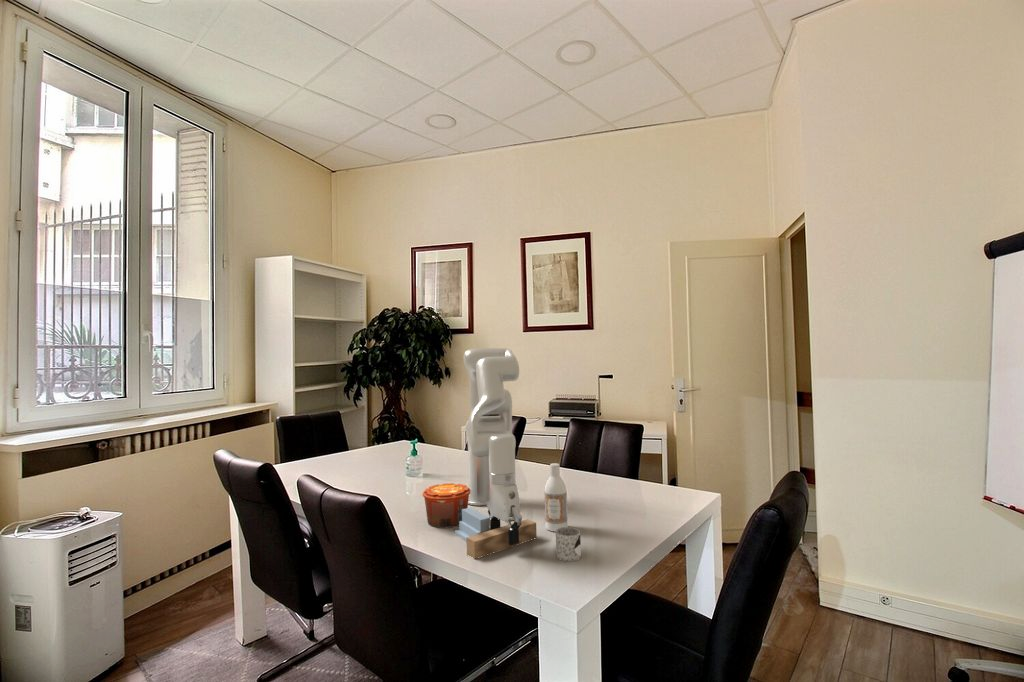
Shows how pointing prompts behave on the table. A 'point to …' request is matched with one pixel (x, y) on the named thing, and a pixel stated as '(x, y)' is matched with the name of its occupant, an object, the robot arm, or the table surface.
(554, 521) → the bath foam
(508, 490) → the robot arm
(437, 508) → the food container
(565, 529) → the mug
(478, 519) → the light blue stepped block
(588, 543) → the table surface
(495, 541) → the light brown wooden bar
